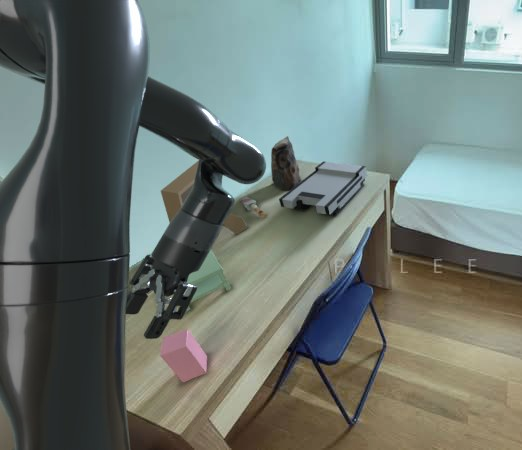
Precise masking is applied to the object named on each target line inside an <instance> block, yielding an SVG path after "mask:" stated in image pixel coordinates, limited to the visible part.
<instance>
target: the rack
mask: <svg viewBox="0 0 522 450" xmlns="http://www.w3.org/2000/svg"><path fill="white" fill-rule="evenodd" d="M187 283H188V284H191V285H196V286H197V290H196V292H195V294H194V296H193V298H192V300H191V302H190V303H193V302H194V301H197V300H198V299H199V300H200V299H201V298H203V297H205V296H207V295H209V294H210V293H213V292H216V291H218V290H219V289H221V288H222V287H224V288H225V290H226V292H228V291H230V290H232V286H231V284H230V283H229V281H228V278H227V277H226V274H225V273H224V268H223V267H222V266H221V264H220V262H219V261H218V259H217V257H216V256H215V254H214V253H213V251H212V249H211V250H210V251H209V253H208V255H207V257H206V259H205V260H204V262H203V264H202V266H201V267H200V269H199V270H198V271H196V272H193V273H191V274H189V277H188V280H187ZM173 295H174V294H173ZM173 295H172V296H173ZM191 310H192V308H191V306H190V305H189V306H188V308H187V310H186V312H185V313H187V312H189V311H191Z"/></svg>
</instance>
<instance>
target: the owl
mask: <svg viewBox="0 0 522 450" xmlns="http://www.w3.org/2000/svg"><path fill="white" fill-rule="evenodd" d="M270 153H271V154H270V158H271V159H270V160H271V161H270V170H271V171H270V172H271V181H272V184H273V185H274V186H276V187H278V188H279V189H282V191H285V192H286V191H287V192H288V191H290V190H291V189H292V188H294V187H295V186H296V185H297V184H299V183H300V182H301V181H302V180H301V177H300V167H299V164H298V162H297V159H296V155H295V151H294V147H293V143H292V142H291V140H290V138H289V135H288V136H285V137H284V138H281V139H280V140H279V141H277V142H276V143H275V144H274V145H273V146H272V147H271V152H270Z"/></svg>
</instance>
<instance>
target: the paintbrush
mask: <svg viewBox="0 0 522 450" xmlns="http://www.w3.org/2000/svg"><path fill="white" fill-rule="evenodd" d="M238 200H239V201H240V202H241V204H242V205H243V207H245V208H246V210H247V211H248V212H250V211H252V210H253V211H254V212H255V213H256V214H257V215H258V216H260V218H262V219H263V218H266V217H267V214H266V213H265V212H264V211H263V210H262V209H260V208H259V206H258V205H257V201H256V200H254V199H252V198H251V197H248V196H243V197H240V198H238Z"/></svg>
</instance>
